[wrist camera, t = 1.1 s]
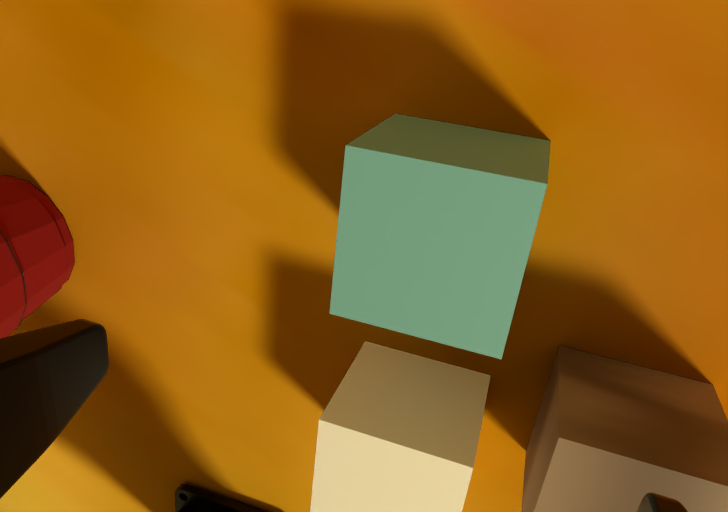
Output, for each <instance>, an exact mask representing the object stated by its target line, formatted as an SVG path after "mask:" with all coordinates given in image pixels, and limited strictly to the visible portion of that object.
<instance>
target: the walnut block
mask: <svg viewBox="0 0 728 512" xmlns="http://www.w3.org/2000/svg"><path fill="white" fill-rule="evenodd" d="M651 492H652V493H656V494H659V495H662V496H666V497H669V498H672V499H675V500H677V501H679V502H680V503H681V504H682V505H683V506H684V507H685V508H686V510H687V511H688V512H728V420H727V418H726V415H725V413H724V411H723V408H722V406H721V403H720V401H719V398H718V396H717V394H716V391H715V389H714V386H713V384H709V383H705V382H701V381H697V380H693V379H689V378H685V377H681V376H677V375H673V374H669V373H666V372H662V371H658V370H654V369H650V368H646V367H642V366H638V365H634V364H630V363H626V362H622V361H619V360H615V359H611V358H607V357H603V356H599V355H595V354H591V353H587V352H583V351H579V350H575V349H572V348H568V347H564V346H560V345H559V347H558V350H557V353H556V356H555V359H554V363H553V366H552V369H551V372H550V376H549V379H548V382H547V385H546V388H545V392H544V395H543V398H542V401H541V405H540V408H539V411H538V414H537V417H536V421H535V424H534V427H533V430H532V434H531V437H530V440H529V443H528V446H527V450H526V459H525V472H524V486H523V499H522V512H637V509H638V507H639V505H640V503H641V501H642V499H643V497H644V496H645V495H646V494H647V493H651Z"/></svg>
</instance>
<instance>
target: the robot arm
mask: <svg viewBox="0 0 728 512" xmlns="http://www.w3.org/2000/svg"><path fill="white" fill-rule="evenodd" d="M108 367H109V355H108V345H107V335H106V330H105V328H104V327H103V326H102V325H101V324H98V323H95V322H92V321H88V320H84V319H79V320H75V321H70V322H66V323H62V324H58V325H54V326H50V327H46V328H42V329H37V330H33V331H29V332H25V333H21V334H17V335H13V336H9V337H4V338H0V498H1V497H2V496H3V495H4V494H5V493H6V492H7V491H8V490H9V489H10V488H11V487H12V486H13V485H14V484H15V483H16V482H17V480H18V479H19V478H20V477H21V476H22V475H23V474H24V473H25V472H26V471H27V470H28V469H29V468H30V467H31V466H32V465H33V464H34V462H35V461H36V460H37V459H38V458H39V457H40V456H41V455H42V454H43V453H44V452H45V451H46V449H47V448H48V447H49V446H50V445H51V444H52V442H53V441H54V440H55V439H56V438H57V436H58V435H59V434H60V433H61V431H62V430H63V429H64V428H65V426H66V425H67V424H68V423H69V421H70V420H71V419H72V417H73V416H74V415H75V414H76V412H77V411H78V410H79V409H80V407H81V406H82V405H83V403H84V402H85V401H86V400H87V398H88V397H89V396H90V395H91V393H92V392H93V391H94V389H95V388H96V387H97V386H98V384H99V383H100V382H101V381H102V379H103V378H104V376H105V375H106V373H107V370H108ZM175 508H176V512H263V511H260V510H257V509H254V508H252V507H249V506H246V505H243V504H241V503H238V502H235V501H232V500H230V499H227V498H224V497H221V496H219V495H216V494H213V493H210V492H208V491H205V490H202V489H199V488H197V487H194V486H191V485H188V484H181V485H180V486H179V487H178V489H177V490H176V491H175ZM637 512H688V511H687V510H686V508H685V507H684V506H683V505H682V504H681V503H680V502H679V501H677V500H675V499H672V498H669V497H666V496H662V495H659V494H656V493H652V492H651V493H647V494H646V495H645V496H644V497H643V499H642V501H641V503H640V505H639V507H638V509H637Z"/></svg>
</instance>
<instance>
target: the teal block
mask: <svg viewBox="0 0 728 512" xmlns="http://www.w3.org/2000/svg"><path fill="white" fill-rule="evenodd" d="M549 155H550V140H544V139H539V138H533V137H527V136H521V135H516V134H510V133H504V132H498V131H493V130H487V129H481V128H476V127H470V126H464V125H458V124H453V123H447V122H441V121H435V120H430V119H424V118H418V117H413V116H407V115H401V114H394V115H392V116H390V117H389V118H387V119H386V120H384V121H383V122H381V123H380V124H378V125H376V126H375V127H373V128H372V129H370V130H369V131H367V132H365V133H364V134H362V135H361V136H359V137H358V138H356V139H355V140H353V141H351V142H350V143H348V144H347V145H346V146H345V156H344V166H343V177H342V187H341V198H340V208H339V218H338V229H337V239H336V250H335V260H334V270H333V281H332V291H331V301H330V312H329V314H333V315H336V316H340V317H344V318H348V319H351V320H355V321H359V322H363V323H366V324H370V325H374V326H378V327H381V328H385V329H389V330H393V331H396V332H400V333H404V334H408V335H411V336H415V337H419V338H423V339H426V340H430V341H434V342H438V343H441V344H445V345H449V346H453V347H456V348H460V349H464V350H468V351H471V352H475V353H479V354H483V355H486V356H490V357H494V358H498V359H501V360H502V356H503V352H504V348H505V344H506V341H507V337H508V333H509V329H510V325H511V321H512V318H513V314H514V310H515V306H516V302H517V298H518V295H519V291H520V287H521V283H522V279H523V276H524V272H525V268H526V264H527V260H528V256H529V253H530V249H531V245H532V241H533V237H534V234H535V230H536V226H537V222H538V218H539V214H540V211H541V207H542V203H543V199H544V195H545V191H546V188H547V183H548V169H549Z"/></svg>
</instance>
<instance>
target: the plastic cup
mask: <svg viewBox="0 0 728 512" xmlns="http://www.w3.org/2000/svg"><path fill="white" fill-rule="evenodd" d="M74 263H75V260H74V246H73V239H72V237H71V234H70V232H69V230H68V227H67V225H66V222H65V220H64V217H63V216H62V215H61V213H60V212H59V211H58V210H57V208H56V207H55V206H54V204H53V203H52V202H51V200H50V199H49V198H48V197H47V196H46V195H45V194H43V193H42V192H41V191H39V190H38V189H37V188H35V187H34V186H33V185H31V184H30V183H29V182H27V181H24V180H21V179H18V178H14V177H11V176H8V175H4V176H0V338H4V337H7V336H8V335H9V334H11V333H12V332H13V331H14V330H15V329H16V328H17V327H19V326H20V323H21V321H22V320H23V319H24V318H26V317H27V316H28V315H29V314H31V313H32V312H33V311H34V310H35V309H37V308H38V307H39V306H40V305H42V304H43V303H44V302H45V301H46V300H48V299H49V298H50V297H51V296H53V295H54V294H55V293H56V292H58V291H59V290H60V289H61V287H62V285H63V284H64V283H65V282H66V281H67V280H69V277H70V274H71V271H72V269H73V266H74Z"/></svg>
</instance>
